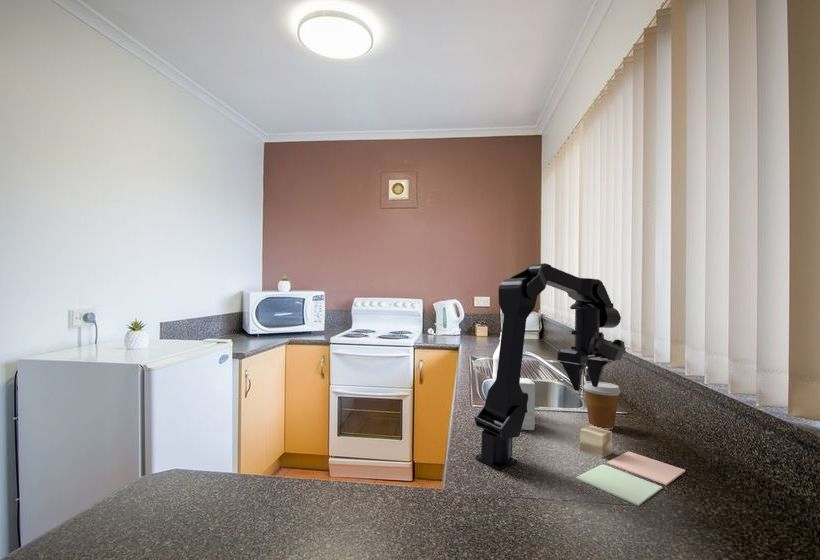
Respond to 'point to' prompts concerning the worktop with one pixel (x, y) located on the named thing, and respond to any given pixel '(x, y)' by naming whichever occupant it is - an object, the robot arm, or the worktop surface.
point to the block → (596, 441)
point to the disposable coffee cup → (602, 403)
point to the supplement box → (529, 403)
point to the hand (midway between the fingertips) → (586, 388)
